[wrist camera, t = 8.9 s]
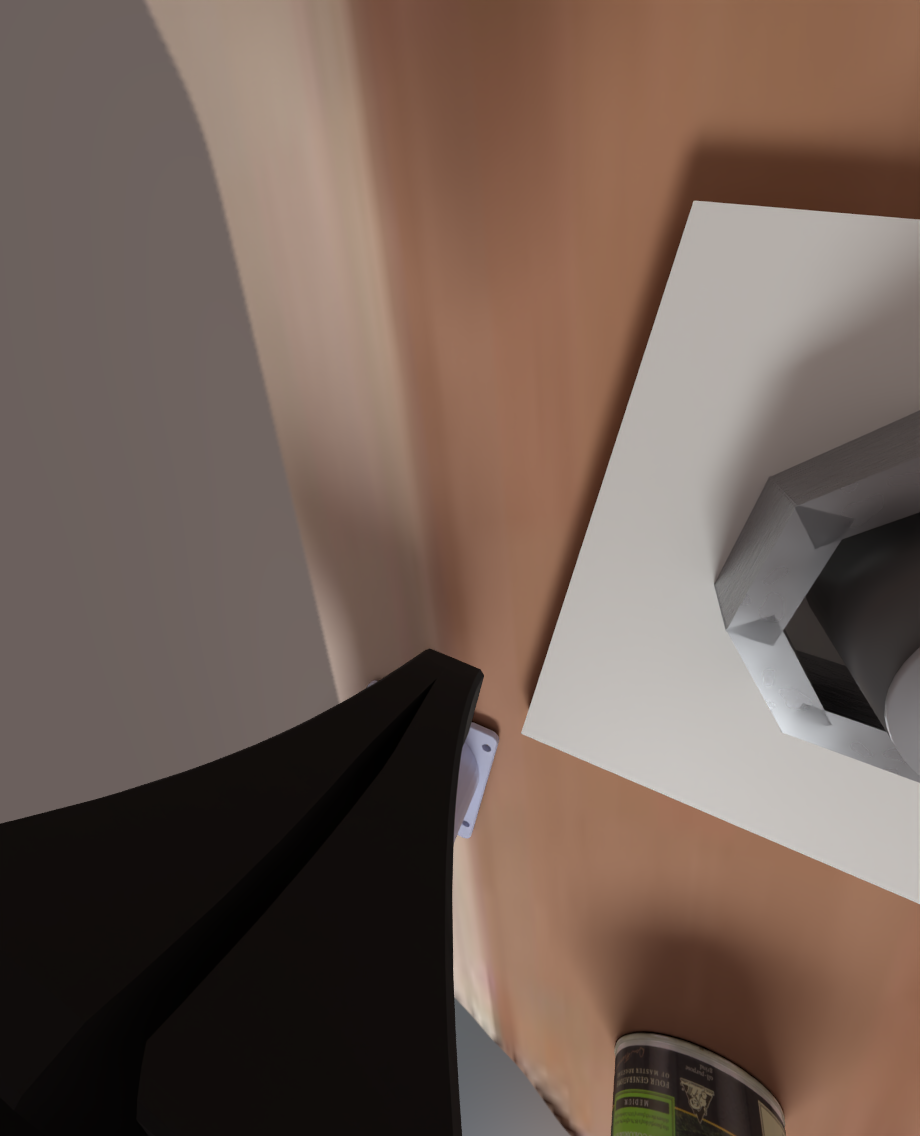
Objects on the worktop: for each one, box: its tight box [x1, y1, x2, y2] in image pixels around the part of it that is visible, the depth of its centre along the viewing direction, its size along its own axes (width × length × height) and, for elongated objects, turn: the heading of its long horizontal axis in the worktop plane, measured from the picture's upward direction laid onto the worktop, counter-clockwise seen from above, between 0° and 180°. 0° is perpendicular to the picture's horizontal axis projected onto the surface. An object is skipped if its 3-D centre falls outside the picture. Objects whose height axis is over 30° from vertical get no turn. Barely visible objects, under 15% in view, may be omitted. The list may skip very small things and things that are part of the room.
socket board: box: [521, 201, 920, 904], centre depth 13 cm, size 20×16×4 cm
